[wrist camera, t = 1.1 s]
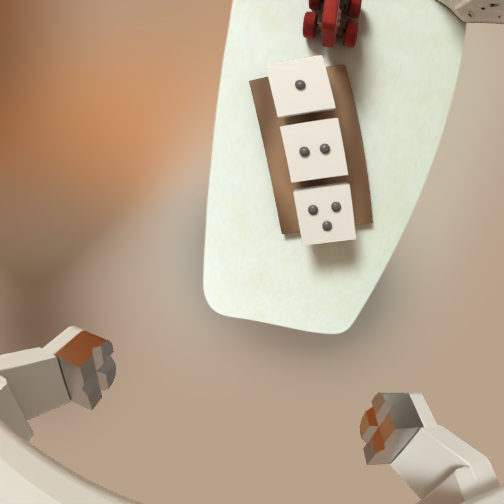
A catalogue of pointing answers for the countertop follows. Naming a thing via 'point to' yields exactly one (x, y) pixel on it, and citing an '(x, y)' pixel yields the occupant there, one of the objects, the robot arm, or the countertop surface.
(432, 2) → the countertop surface
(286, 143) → the two-pip tile
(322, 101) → the one-pip tile
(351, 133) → the walnut board
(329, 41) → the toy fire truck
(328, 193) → the three-pip tile
